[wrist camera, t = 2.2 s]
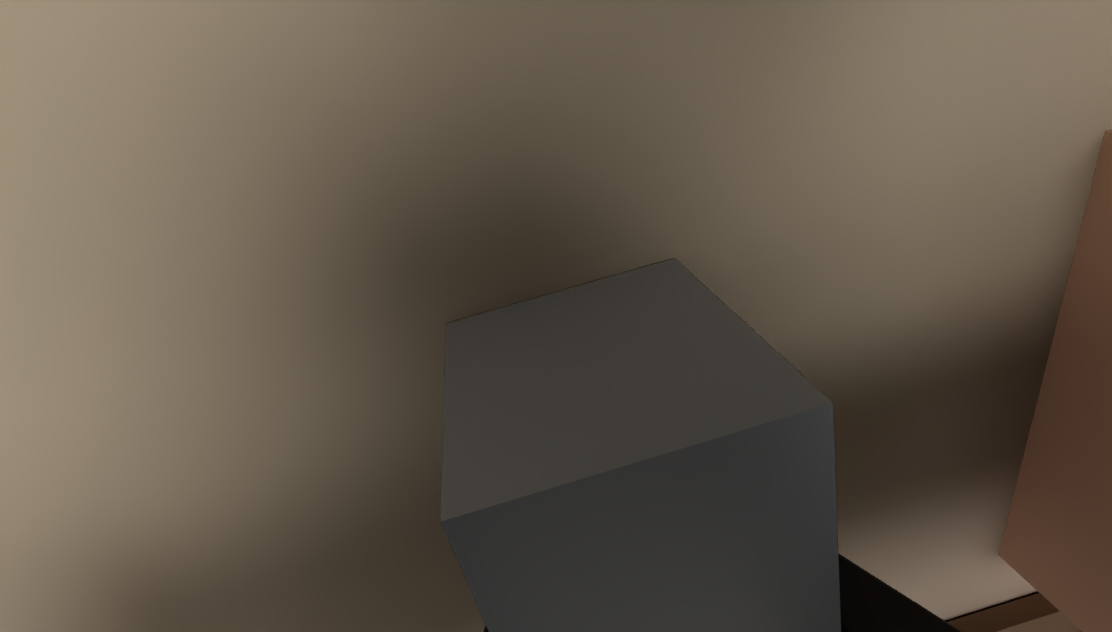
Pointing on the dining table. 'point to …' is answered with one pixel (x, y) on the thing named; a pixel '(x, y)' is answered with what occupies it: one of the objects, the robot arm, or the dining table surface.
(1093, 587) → the tall terracotta pillar
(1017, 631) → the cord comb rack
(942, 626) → the robot arm
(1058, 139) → the dining table surface
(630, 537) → the tall slate pillar
